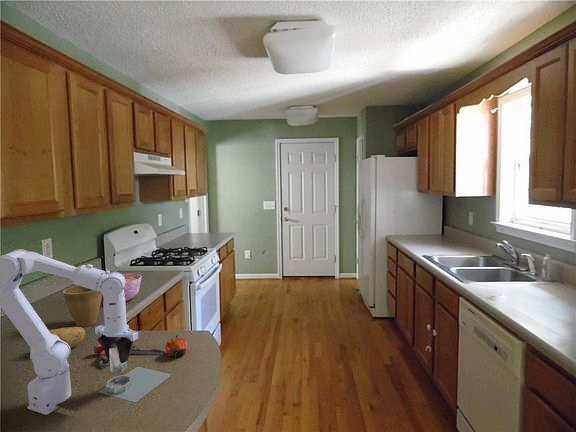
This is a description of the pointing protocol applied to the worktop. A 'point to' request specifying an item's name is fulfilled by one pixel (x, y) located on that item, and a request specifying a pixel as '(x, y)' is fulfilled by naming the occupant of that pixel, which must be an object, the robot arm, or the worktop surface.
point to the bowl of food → (131, 285)
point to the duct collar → (120, 388)
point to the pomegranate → (176, 347)
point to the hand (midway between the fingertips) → (117, 360)
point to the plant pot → (83, 304)
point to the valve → (133, 350)
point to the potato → (70, 335)
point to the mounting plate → (139, 383)
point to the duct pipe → (116, 360)
